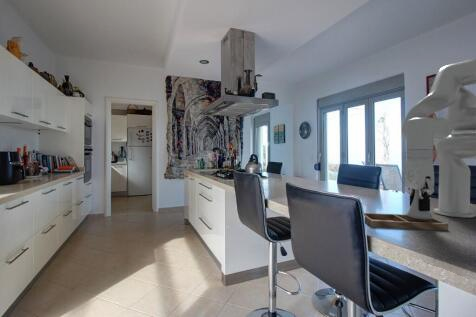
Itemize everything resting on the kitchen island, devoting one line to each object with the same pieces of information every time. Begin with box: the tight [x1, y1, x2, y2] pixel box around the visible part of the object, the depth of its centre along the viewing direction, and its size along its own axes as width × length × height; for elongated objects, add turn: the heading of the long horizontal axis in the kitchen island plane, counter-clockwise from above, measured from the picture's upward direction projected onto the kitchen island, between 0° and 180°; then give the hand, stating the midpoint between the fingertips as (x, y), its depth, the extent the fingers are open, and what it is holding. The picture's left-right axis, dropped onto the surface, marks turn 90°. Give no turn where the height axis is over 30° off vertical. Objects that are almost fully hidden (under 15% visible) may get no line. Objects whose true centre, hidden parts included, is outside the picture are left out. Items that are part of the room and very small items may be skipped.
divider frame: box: [363, 212, 449, 231], centre depth 89 cm, size 22×12×2 cm, turn 81°
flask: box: [406, 188, 434, 219], centre depth 88 cm, size 7×7×10 cm
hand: (419, 208), depth 88 cm, fingers closed on flask, 4 cm apart
